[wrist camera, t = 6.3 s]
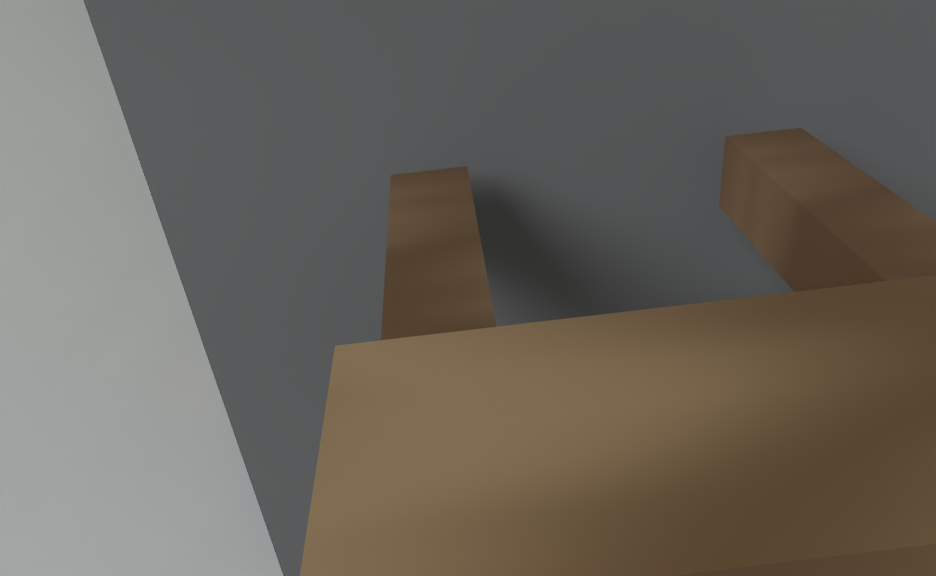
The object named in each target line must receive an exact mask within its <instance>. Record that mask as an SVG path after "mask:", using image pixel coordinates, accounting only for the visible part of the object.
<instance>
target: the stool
mask: <svg viewBox="0 0 936 576" xmlns="http://www.w3.org/2000/svg"><path fill="white" fill-rule="evenodd" d="M719 206H720V208H721V209H722V210H723V211H724V212H725V213H726V214H727V216H728V217H729V218H730V219H731V220H732V221H733V222H734V224H735V225H736V226H737V227H738V228H739V229H740V230H741V232H742V233H743V234H744V235H745V236H746V237H747V238H748V240H749V241H750V242H751V243H752V244H753V245H754V246H755V248H756V249H757V250H758V251H759V252H760V253H761V254H762V256H763V257H764V258H765V259H766V260H767V261H768V262H769V263H770V265H771V266H772V267H773V268H774V269H775V270H776V271H777V273H778V274H779V275H780V276H781V277H782V278H783V279H784V281H785V282H786V283H787V284H788V285H789V286H790V287H791V289H792V290H793V291H794V292H788V293H780V294H771V295H763V296H754V297H746V298H737V299H729V300H720V301H712V302H703V303H695V304H686V305H678V306H669V307H661V308H652V309H644V310H635V311H627V312H618V313H609V314H601V315H592V316H584V317H575V318H567V319H558V320H550V321H541V322H533V323H524V324H516V325H507V326H499V327H496V322H495V317H494V311H493V306H492V300H491V295H490V289H489V284H488V278H487V273H486V267H485V262H484V256H483V251H482V245H481V240H480V234H479V229H478V223H477V218H476V212H475V207H474V201H473V196H472V190H471V185H470V179H469V174H468V168H467V166H463V167H455V168H446V169H437V170H429V171H420V172H411V173H403V174H394V175H391V180H390V197H389V213H388V230H387V246H386V263H385V279H384V296H383V312H382V329H381V340H379V341H371V342H362V343H354V344H345V345H337V346H335V349H334V355H333V362H332V368H331V375H330V381H329V388H328V395H327V401H326V408H325V414H324V421H323V427H322V434H321V440H320V447H319V453H318V460H317V466H316V473H315V480H314V486H313V493H312V499H311V506H310V512H309V519H308V525H307V532H306V538H305V545H304V551H303V558H302V565H301V571H300V576H936V222H935V221H933V220H932V219H931V218H929V217H928V216H926V215H925V214H923V213H922V212H921V211H919V210H918V209H916V208H915V207H913V206H912V205H911V204H909V203H908V202H906V201H905V200H903V199H902V198H901V197H899V196H898V195H896V194H895V193H894V192H892V191H891V190H889V189H888V188H886V187H885V186H884V185H882V184H881V183H879V182H878V181H876V180H875V179H874V178H872V177H871V176H869V175H868V174H866V173H865V172H864V171H862V170H861V169H859V168H858V167H856V166H855V165H854V164H852V163H851V162H849V161H848V160H846V159H845V158H844V157H842V156H841V155H839V154H838V153H837V152H835V151H834V150H832V149H831V148H829V147H828V146H827V145H825V144H824V143H822V142H821V141H819V140H818V139H817V138H815V137H814V136H812V135H811V134H809V133H808V132H807V131H805V130H804V129H802V128H793V129H785V130H776V131H767V132H759V133H750V134H741V135H733V136H725V146H724V157H723V168H722V179H721V190H720V201H719Z"/></svg>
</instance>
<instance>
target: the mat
mask: <svg viewBox="0 0 936 576" xmlns="http://www.w3.org/2000/svg"><path fill="white" fill-rule="evenodd" d="M84 2H85V5H86V8H87V11H88V14H89V17H90V20H91V23H92V25H93V28H94V31H95V34H96V37H97V40H98V43H99V46H100V48H101V51H102V54H103V57H104V60H105V63H106V66H107V69H108V71H109V74H110V77H111V80H112V83H113V86H114V89H115V92H116V94H117V97H118V100H119V103H120V106H121V109H122V112H123V115H124V117H125V120H126V123H127V126H128V129H129V132H130V135H131V138H132V141H133V143H134V146H135V149H136V152H137V155H138V158H139V161H140V164H141V166H142V169H143V172H144V175H145V178H146V181H147V184H148V187H149V189H150V192H151V195H152V198H153V201H154V204H155V207H156V210H157V212H158V215H159V218H160V221H161V224H162V227H163V230H164V233H165V235H166V238H167V241H168V244H169V247H170V250H171V253H172V256H173V259H174V261H175V264H176V267H177V270H178V273H179V276H180V279H181V282H182V284H183V287H184V290H185V293H186V296H187V299H188V302H189V305H190V307H191V310H192V313H193V316H194V319H195V322H196V325H197V328H198V330H199V333H200V336H201V339H202V342H203V345H204V348H205V351H206V354H207V356H208V359H209V362H210V365H211V368H212V371H213V374H214V377H215V379H216V382H217V385H218V388H219V391H220V394H221V397H222V400H223V402H224V405H225V408H226V411H227V414H228V417H229V420H230V423H231V425H232V428H233V431H234V434H235V437H236V440H237V443H238V446H239V448H240V451H241V454H242V457H243V460H244V463H245V466H246V469H247V472H248V474H249V477H250V480H251V483H252V486H253V489H254V492H255V495H256V497H257V500H258V503H259V506H260V509H261V512H262V515H263V518H264V520H265V523H266V526H267V529H268V532H269V535H270V538H271V541H272V543H273V546H274V549H275V552H276V555H277V558H278V561H279V564H280V567H281V569H282V572H283V575H284V576H300V571H301V565H302V558H303V551H304V545H305V538H306V532H307V525H308V519H309V512H310V506H311V499H312V493H313V486H314V480H315V473H316V466H317V460H318V453H319V447H320V440H321V434H322V427H323V421H324V414H325V408H326V401H327V395H328V388H329V381H330V375H331V368H332V362H333V355H334V349H335V346H337V345H345V344H354V343H362V342H371V341H379V340H381V329H382V312H383V296H384V279H385V263H386V246H387V230H388V213H389V197H390V180H391V175H394V174H403V173H411V172H420V171H429V170H437V169H446V168H455V167H463V166H467V168H468V174H469V179H470V185H471V190H472V196H473V201H474V207H475V212H476V218H477V223H478V229H479V234H480V240H481V245H482V251H483V256H484V262H485V267H486V273H487V278H488V284H489V289H490V295H491V300H492V306H493V311H494V317H495V322H496V327H499V326H507V325H516V324H524V323H533V322H541V321H550V320H558V319H567V318H575V317H584V316H592V315H601V314H609V313H618V312H627V311H635V310H644V309H652V308H661V307H669V306H678V305H686V304H695V303H703V302H712V301H720V300H729V299H737V298H746V297H754V296H763V295H771V294H780V293H788V292H794V291H793V290H792V289H791V287H790V286H789V285H788V284H787V283H786V282H785V281H784V279H783V278H782V277H781V276H780V275H779V274H778V273H777V271H776V270H775V269H774V268H773V267H772V266H771V265H770V263H769V262H768V261H767V260H766V259H765V258H764V257H763V256H762V254H761V253H760V252H759V251H758V250H757V249H756V248H755V246H754V245H753V244H752V243H751V242H750V241H749V240H748V238H747V237H746V236H745V235H744V234H743V233H742V232H741V230H740V229H739V228H738V227H737V226H736V225H735V224H734V222H733V221H732V220H731V219H730V218H729V217H728V216H727V214H726V213H725V212H724V211H723V210H722V209H721V208H720V206H719V201H720V190H721V179H722V168H723V157H724V146H725V136H733V135H741V134H750V133H759V132H767V131H776V130H785V129H793V128H802V129H804V130H805V131H807V132H808V133H809V134H811V135H812V136H814V137H815V138H817V139H818V140H819V141H821V142H822V143H824V144H825V145H827V146H828V147H829V148H831V149H832V150H834V151H835V152H837V153H838V154H839V155H841V156H842V157H844V158H845V159H846V160H848V161H849V162H851V163H852V164H854V165H855V166H856V167H858V168H859V169H861V170H862V171H864V172H865V173H866V174H868V175H869V176H871V177H872V178H874V179H875V180H876V181H878V182H879V183H881V184H882V185H884V186H885V187H886V188H888V189H889V190H891V191H892V192H894V193H895V194H896V195H898V196H899V197H901V198H902V199H903V200H905V201H906V202H908V203H909V204H911V205H912V206H913V207H915V208H916V209H918V210H919V211H921V212H922V213H923V214H925V215H926V216H928V217H929V218H931V219H932V220H933V221H935V222H936V0H84Z"/></svg>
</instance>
